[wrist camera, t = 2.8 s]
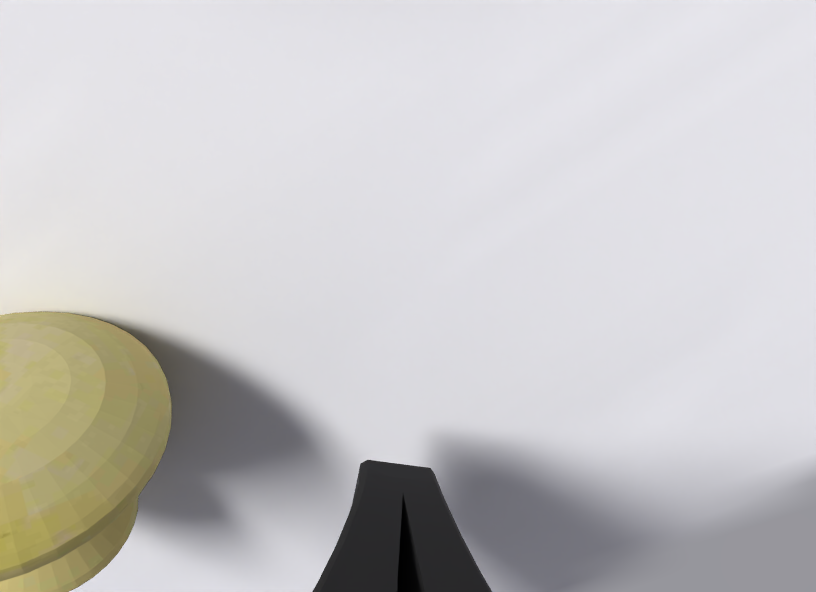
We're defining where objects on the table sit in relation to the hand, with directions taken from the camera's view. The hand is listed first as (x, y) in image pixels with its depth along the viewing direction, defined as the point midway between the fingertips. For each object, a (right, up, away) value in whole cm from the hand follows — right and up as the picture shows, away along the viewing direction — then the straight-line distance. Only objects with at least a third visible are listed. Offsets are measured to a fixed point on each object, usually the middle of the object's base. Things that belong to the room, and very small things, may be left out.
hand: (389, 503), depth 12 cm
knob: (-7, +2, +1) cm, 7 cm away
